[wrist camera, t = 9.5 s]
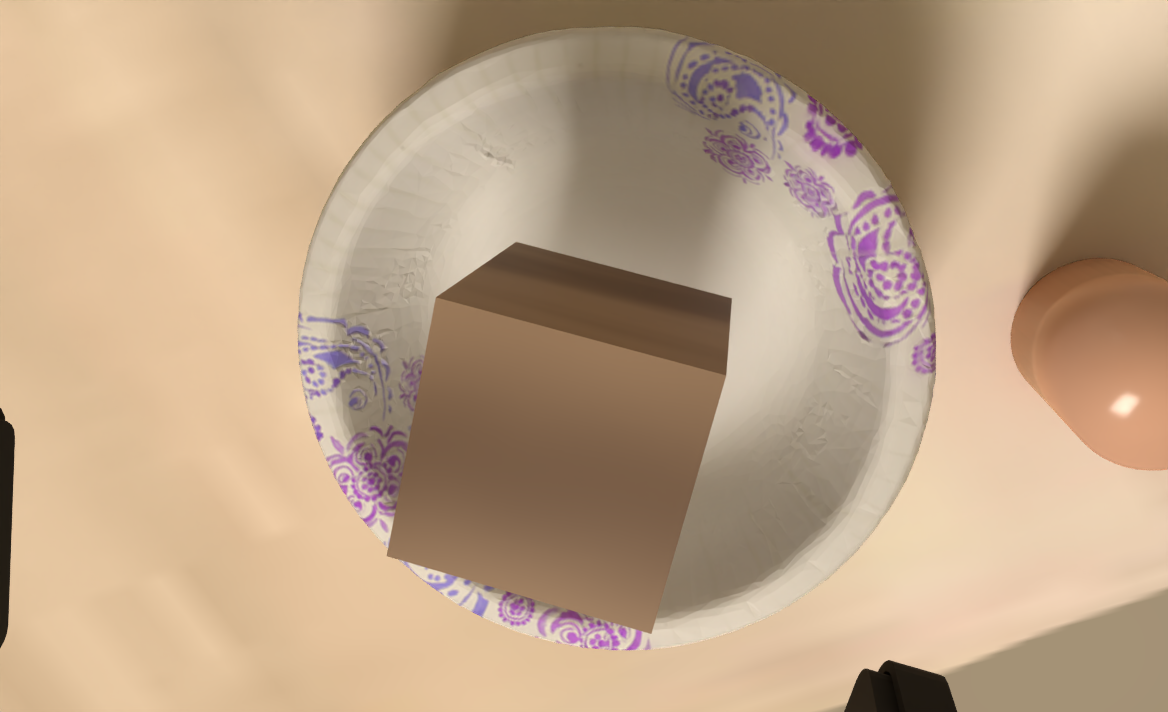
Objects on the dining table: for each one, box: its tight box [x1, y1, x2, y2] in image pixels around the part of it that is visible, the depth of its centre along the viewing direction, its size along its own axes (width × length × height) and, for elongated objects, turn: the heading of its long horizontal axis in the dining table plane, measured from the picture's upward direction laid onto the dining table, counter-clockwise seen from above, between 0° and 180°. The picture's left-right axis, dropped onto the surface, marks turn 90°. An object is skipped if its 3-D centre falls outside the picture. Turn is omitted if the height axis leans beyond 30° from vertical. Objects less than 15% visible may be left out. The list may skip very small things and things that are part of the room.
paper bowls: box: [298, 26, 936, 650], centre depth 26 cm, size 15×15×8 cm
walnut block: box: [387, 242, 732, 634], centre depth 20 cm, size 5×5×6 cm
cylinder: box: [1011, 258, 1168, 470], centre depth 26 cm, size 4×4×5 cm
